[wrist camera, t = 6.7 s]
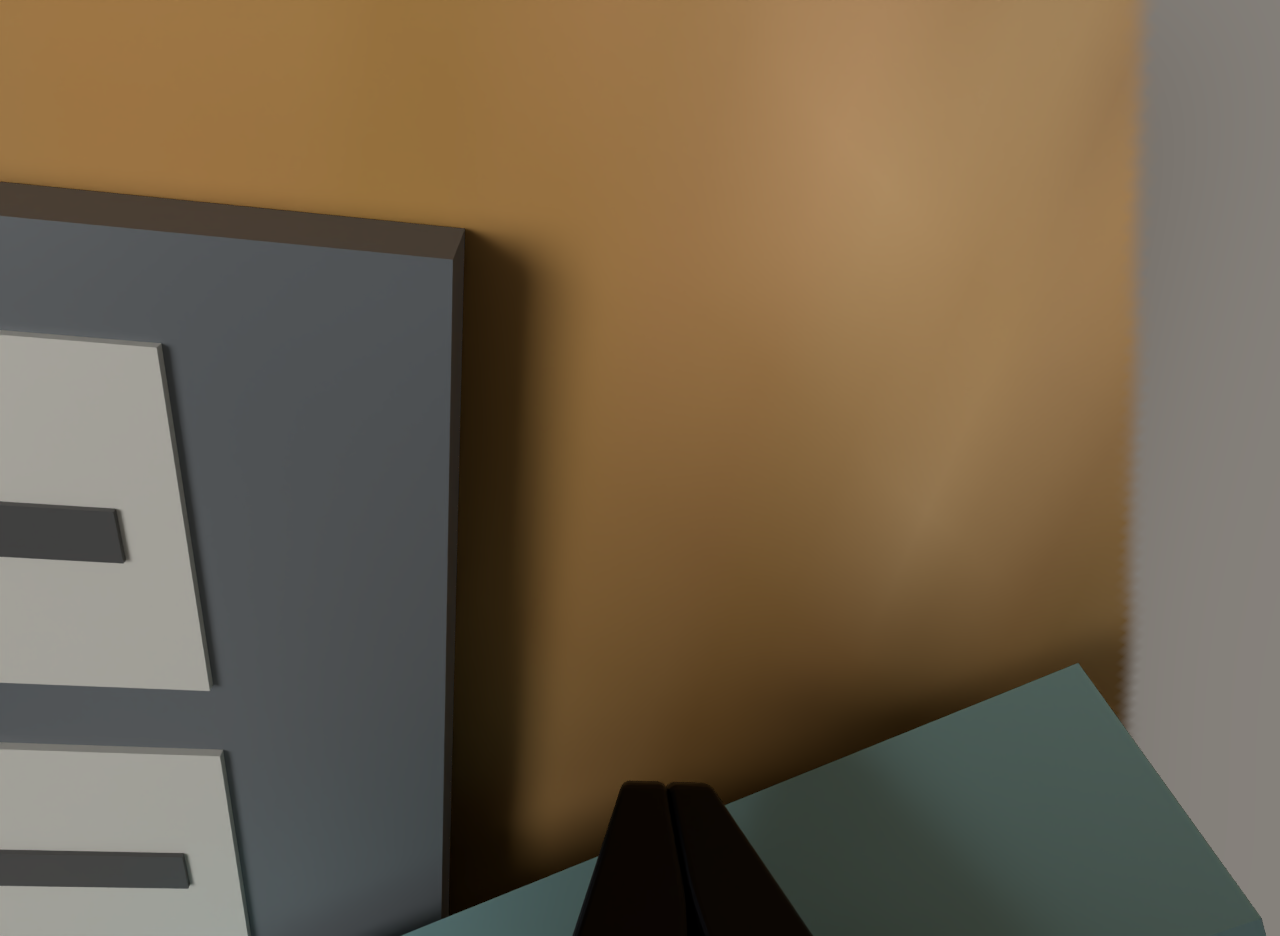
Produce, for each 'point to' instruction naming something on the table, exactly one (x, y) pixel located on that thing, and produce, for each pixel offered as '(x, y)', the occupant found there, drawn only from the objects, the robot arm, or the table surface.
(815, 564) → the table surface
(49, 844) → the label panel
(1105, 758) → the swing arm
